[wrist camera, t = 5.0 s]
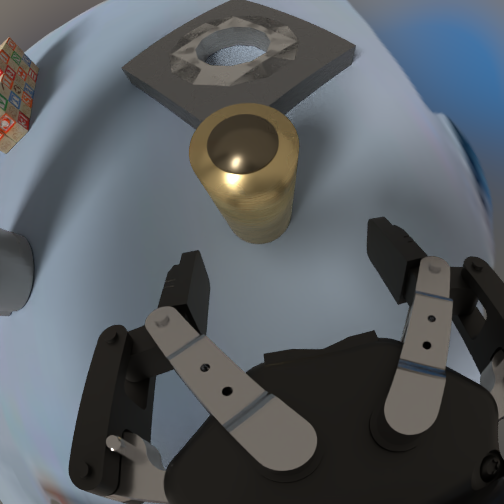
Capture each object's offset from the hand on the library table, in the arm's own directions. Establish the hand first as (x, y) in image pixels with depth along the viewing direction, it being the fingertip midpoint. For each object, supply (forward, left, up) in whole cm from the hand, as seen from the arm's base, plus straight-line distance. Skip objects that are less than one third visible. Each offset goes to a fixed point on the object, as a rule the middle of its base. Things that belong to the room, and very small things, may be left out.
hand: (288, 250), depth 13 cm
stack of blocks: (-10, +51, -8) cm, 52 cm away
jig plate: (+13, +18, -8) cm, 24 cm away
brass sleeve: (+2, +4, -8) cm, 9 cm away
